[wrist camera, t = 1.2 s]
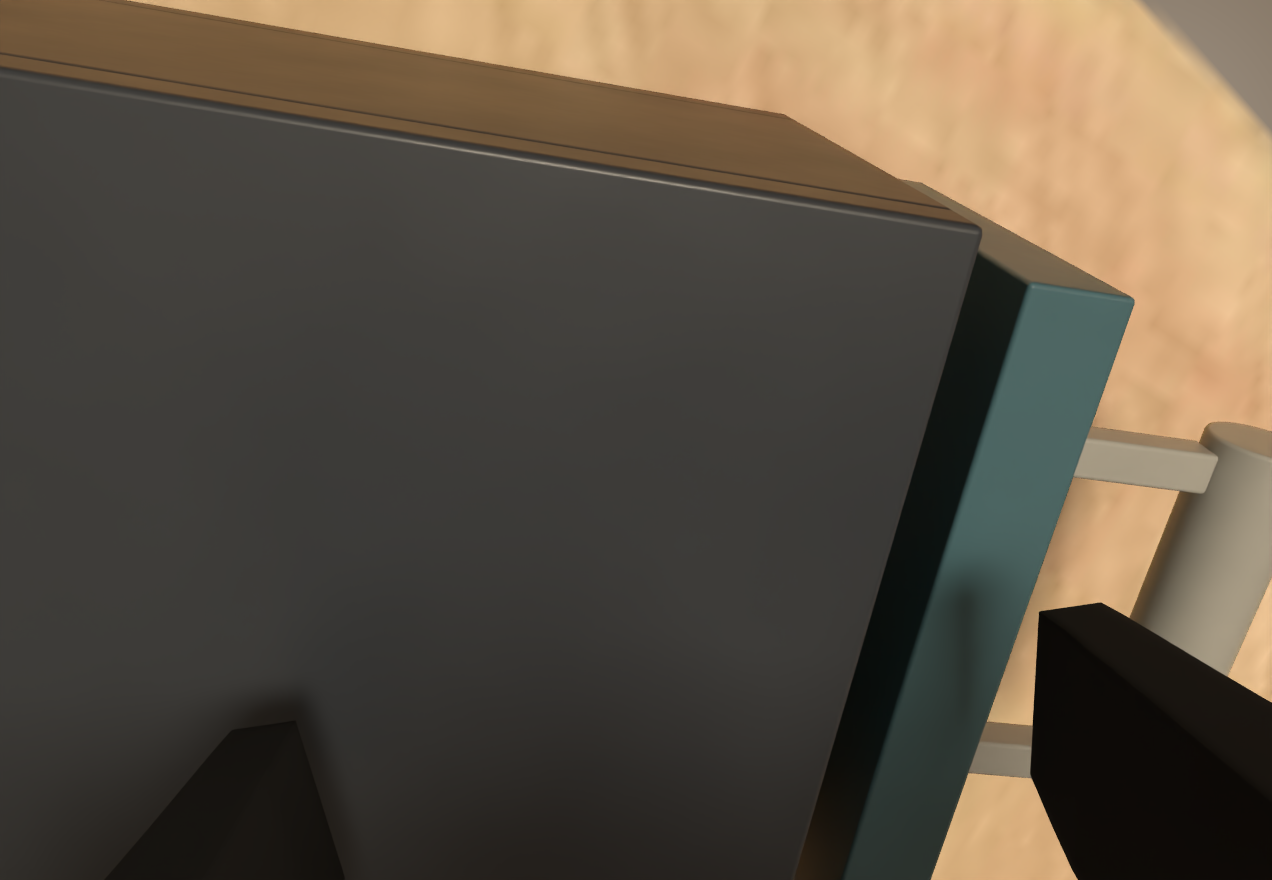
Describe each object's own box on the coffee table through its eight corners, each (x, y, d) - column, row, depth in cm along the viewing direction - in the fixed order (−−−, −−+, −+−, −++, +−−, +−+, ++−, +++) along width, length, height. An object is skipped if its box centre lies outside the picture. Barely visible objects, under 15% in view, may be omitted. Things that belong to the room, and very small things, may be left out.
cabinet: (787, 115, 18) (988, 228, 10) (660, 702, 22) (729, 1107, 14) (-118, -43, 16) (-763, -58, 8) (-64, 636, 20) (-448, 1061, 12)
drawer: (1205, 229, 18) (1553, 364, 12) (1017, 737, 22) (1207, 1038, 16) (100, 44, 16) (-186, 92, 10) (106, 654, 20) (-93, 971, 13)
